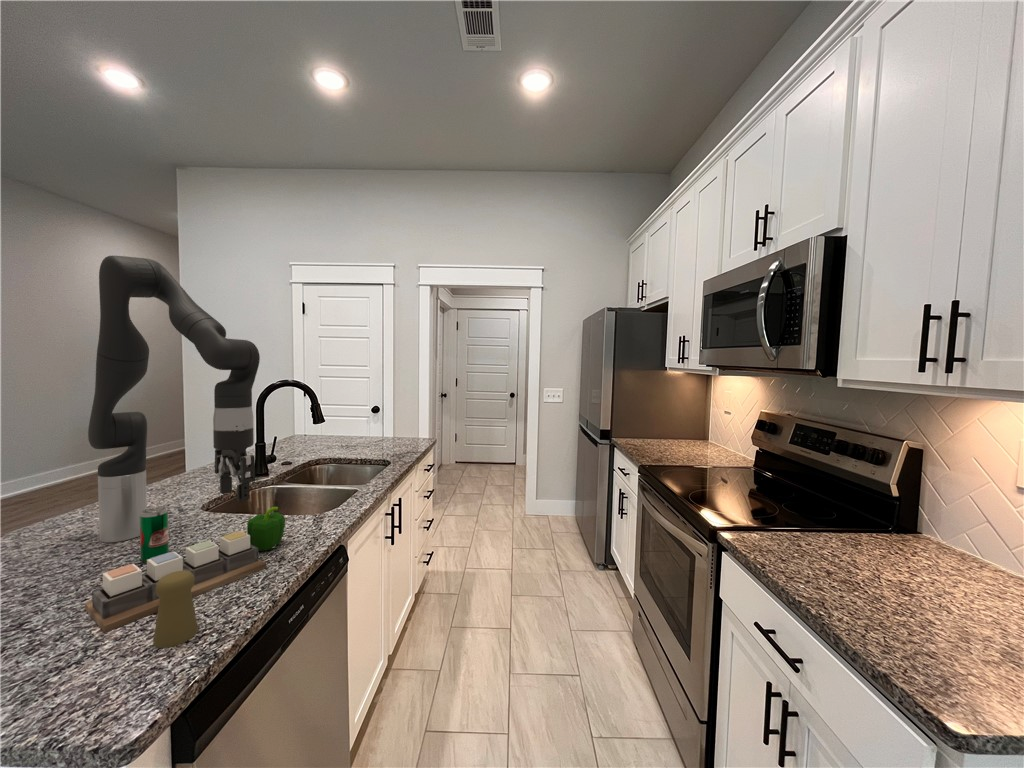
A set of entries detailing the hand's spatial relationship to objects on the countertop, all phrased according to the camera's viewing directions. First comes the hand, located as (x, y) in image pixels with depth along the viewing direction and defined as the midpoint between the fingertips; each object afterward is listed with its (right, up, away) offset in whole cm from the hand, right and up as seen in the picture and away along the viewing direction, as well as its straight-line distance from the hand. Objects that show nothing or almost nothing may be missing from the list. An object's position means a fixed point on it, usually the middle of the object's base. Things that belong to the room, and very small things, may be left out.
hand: (234, 496), depth 92 cm
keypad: (-6, -17, -7) cm, 19 cm away
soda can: (-22, -16, +4) cm, 28 cm away
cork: (+5, -18, -22) cm, 29 cm away
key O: (-11, -13, -16) cm, 23 cm away
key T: (-7, -13, -10) cm, 18 cm away
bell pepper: (0, -17, +12) cm, 20 cm away
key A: (-4, -13, -5) cm, 14 cm away
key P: (0, -12, +1) cm, 12 cm away
